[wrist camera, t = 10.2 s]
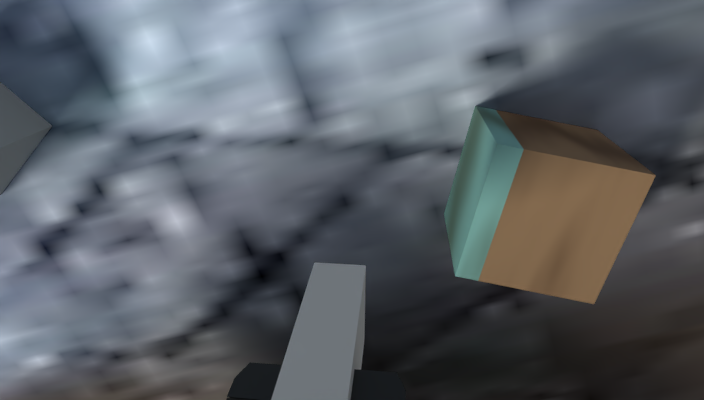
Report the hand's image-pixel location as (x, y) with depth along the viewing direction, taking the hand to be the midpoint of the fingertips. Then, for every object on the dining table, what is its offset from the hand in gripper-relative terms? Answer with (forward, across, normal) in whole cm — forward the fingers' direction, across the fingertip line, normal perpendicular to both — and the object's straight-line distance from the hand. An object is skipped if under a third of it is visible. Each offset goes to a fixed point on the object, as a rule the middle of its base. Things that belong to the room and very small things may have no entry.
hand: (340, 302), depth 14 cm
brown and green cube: (+9, -5, 0) cm, 10 cm away
